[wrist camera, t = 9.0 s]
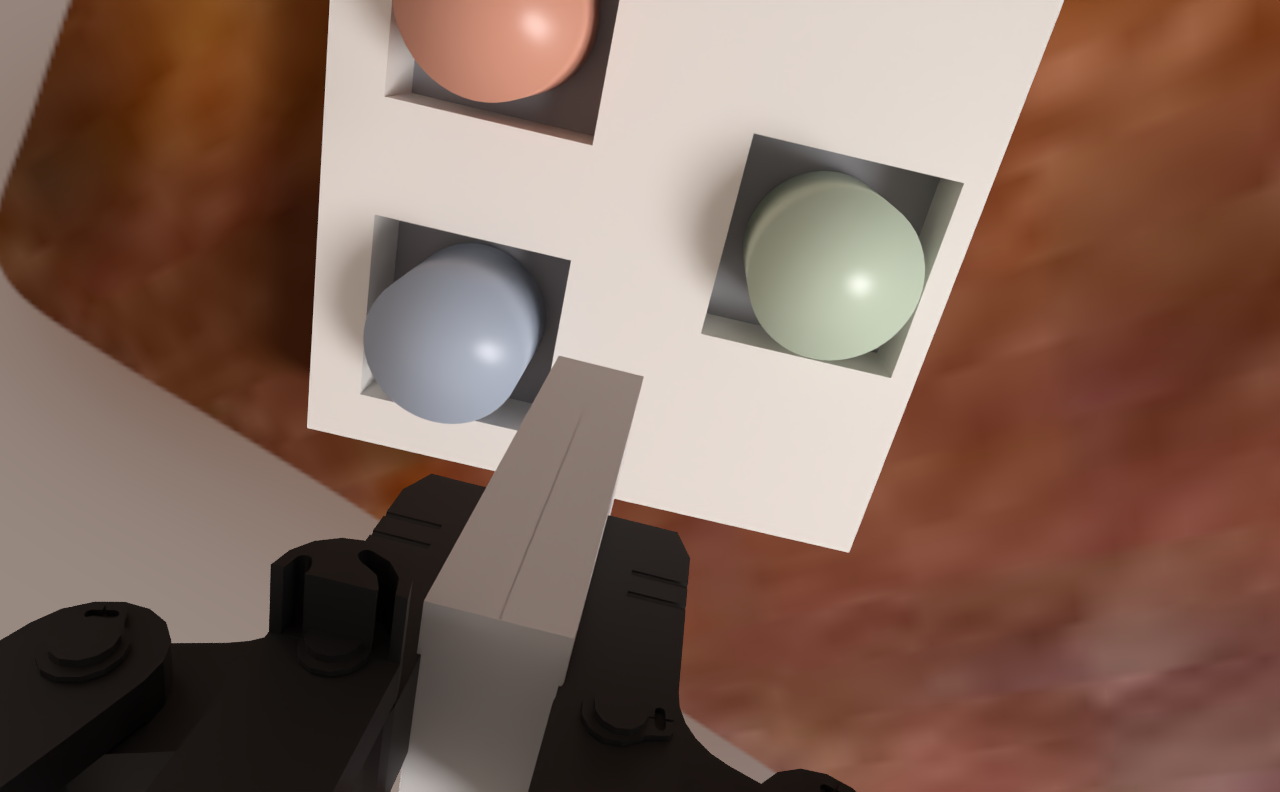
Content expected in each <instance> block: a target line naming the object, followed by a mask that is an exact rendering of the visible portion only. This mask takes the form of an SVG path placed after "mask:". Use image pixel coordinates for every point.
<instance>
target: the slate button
mask: <svg viewBox="0 0 1280 792" xmlns="http://www.w3.org/2000/svg"><path fill="white" fill-rule="evenodd" d="M545 322H546V314H545V306H544V301H543V298H542V294H541V292H540V290H539V287H538V285H537V284H536V282H535V280H534V279H533V277H532V276H531V274H530V273H529V272H528V271H527V269H526V268H525V267H524V266H523V265H522V264H521V263H519V262H518V261H517V260H516V259H514V258H513V257H512V256H510V255H508V254H507V253H505V252H503V251H501V250H499V249H496V248H494V247H490V246H487V245H482V244H474V243H465V244H457V245H452V246H449V247H446V248H444V249H441V250H439V251H438V252H436V253H434V254H433V255H431V256H430V257H428V258H427V259H426V260H424V261H423V262H422V263H420V264H419V265H417V266H416V267H415V268H413V269H412V270H411V271H409V272H408V273H406V274H405V275H404V276H402V277H401V278H400V279H398V280H397V281H396V282H394V283H393V284H391V285H390V286H389V287H388V288H386V289H385V290H384V291H383V292H382V293H381V294H380V295H379V296H378V297H377V299H376V300H375V302H374V303H373V305H372V306H371V308H370V311H369V313H368V315H367V318H366V322H365V326H364V335H363V343H364V351H365V356H366V360H367V363H368V366H369V368H370V371H371V373H372V375H373V376H374V378H375V380H376V382H377V383H378V384H379V386H380V387H381V389H382V390H383V391H384V392H385V393H386V394H387V396H388V397H389V398H391V399H392V400H393V401H394V402H395V403H396V404H397V405H399V406H400V407H402V408H403V409H404V410H406V411H408V412H410V413H411V414H413V415H415V416H418V417H420V418H423V419H425V420H429V421H432V422H437V423H443V424H461V423H467V422H472V421H475V420H478V419H481V418H483V417H485V416H487V415H489V414H491V413H492V412H494V411H495V410H497V409H498V408H499V407H500V406H501V405H502V404H503V403H504V402H505V401H506V400H507V399H508V398H509V396H510V395H511V393H512V391H513V390H514V388H515V386H516V385H517V383H518V381H519V379H520V378H521V376H522V374H523V373H524V371H525V369H526V367H527V366H528V364H529V362H530V360H531V359H532V357H533V355H534V354H535V352H536V350H537V348H538V347H539V345H540V342H541V340H542V338H543V334H544V330H545Z"/></svg>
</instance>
